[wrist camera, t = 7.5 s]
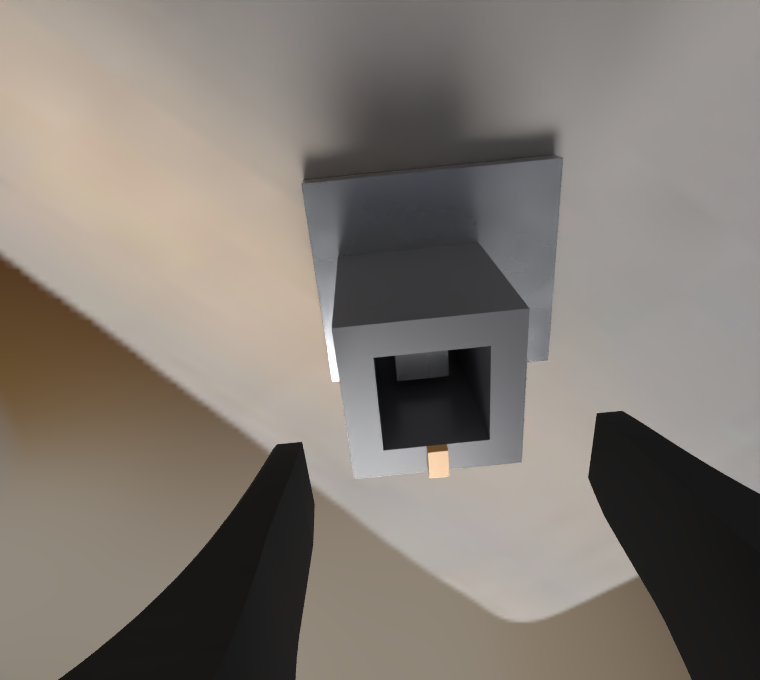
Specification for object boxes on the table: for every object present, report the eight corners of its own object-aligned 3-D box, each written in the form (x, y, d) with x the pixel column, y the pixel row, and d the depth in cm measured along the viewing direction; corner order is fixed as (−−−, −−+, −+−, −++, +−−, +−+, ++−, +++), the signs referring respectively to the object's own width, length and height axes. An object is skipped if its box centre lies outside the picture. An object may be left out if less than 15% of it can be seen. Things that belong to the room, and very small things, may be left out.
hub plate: (554, 155, 18) (562, 158, 17) (541, 350, 22) (547, 360, 21) (303, 180, 18) (301, 183, 17) (332, 371, 22) (332, 381, 21)
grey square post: (431, 288, 20) (447, 329, 17) (433, 328, 21) (448, 375, 18) (386, 292, 20) (393, 335, 17) (390, 332, 21) (397, 381, 18)
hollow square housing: (478, 242, 18) (533, 313, 13) (478, 364, 21) (524, 468, 15) (337, 257, 18) (331, 333, 13) (353, 377, 21) (353, 486, 15)
